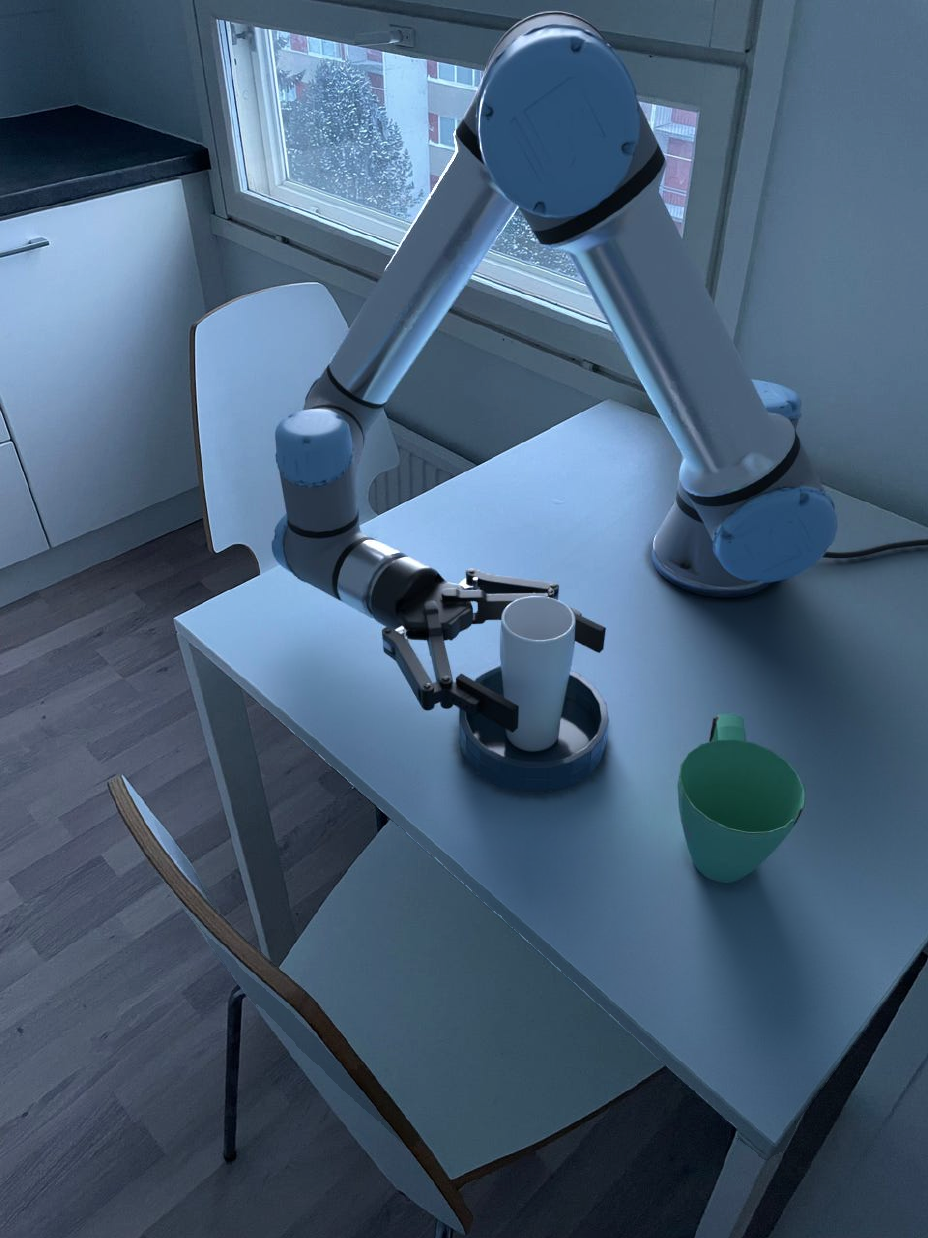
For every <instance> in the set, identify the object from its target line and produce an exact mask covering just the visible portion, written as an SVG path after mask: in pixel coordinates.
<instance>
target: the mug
mask: <svg viewBox="0 0 928 1238" xmlns="http://www.w3.org/2000/svg"><path fill="white" fill-rule="evenodd" d="M744 719H745V718H744V717H743V716H742V715H740V714H737V713H732V712H731V713H730V712H729V713H728V712H727V713H719V714H718V715H716V716H715V717H714V718H713V719H712V724H711V730H710V734H709V740H708V741H707V742H703V743H701V744H699V745H697V746H696V747H695V748H693V749H692V750H690V751H689V752H687V754H686V755H685V757H684V759H683V760H682V762H681V763H680V766H679V771H678V772H679V773H678V779H677V798H678V810H679V816H680V823H681V827H682V830H683V831H682V832H683V834H684V838H685V842H686V846H687V850H688V852H689V855H690V857H691V860H692V863H693V865H694V866H695V868H696V869H697V871H698V872H699V873H700V874H702V876H704V877H705V878H707V879H709V880H711V881H713V882H716V883H720V884H732V883H735V882H738V881H741V880H742V879H744V878H745V877H746V876H748V875H749V874H750V873H752V872H754V871H755V869H757V868H758V867H759V866H760V865H761V864H762V863H763V862H765V860H767V858H769V857H770V856H771V855H772V854H773V853H774V852H775V851H776V850H777V849H778V847H780V845H781V844H782V843H783V841H784V840H785V839H786V838H787V837H788V835H789V834H790V832H791V831H792V830H793V829H794V828H795V825H796V824H797V823H798V821H799V820H800V816H801V815H802V814H803V811H804V808H805V805H806V789H805V786H804V784H803V782H802V780H801V777H800V775H799V773H798V771H796V770H795V768H794V767H793V766H792V765H791V763H789V762H788V760H786V759H785V758H783V757H782V756H780V755H779V754H778V753H777V752H775V751H773V750H772V749H770V748H767V747H765V746H763V745H761V744H758V743H755V742H751V741H747V734H746V725H745V720H744Z"/></svg>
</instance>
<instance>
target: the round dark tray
mask: <svg viewBox="0 0 928 1238" xmlns="http://www.w3.org/2000/svg"><path fill="white" fill-rule="evenodd" d="M474 681H475V682H477V683H479V684H481V685H482V686H484V687H486V688H488V689H490V690H491V691H493V692H495V693H497V694H498V695H500V696H502V697H504V693H503V682H502V672H501V665H498V666H497V667H494V668H492V669H490V670H488V671H486V672H484V673H482V674H480V675H479V676H478V677H477V678H476V679H475V680H474ZM609 721H610V719H609V712H608V707H607V702H606V701H605V699H604V697H603V696H602V694H601V693H600V691H599V689H598V688H597V687H596V686H595V685H594V684H592V683H591V682H590V681H589V680H587V679H586V678H585V677H584V676H583V675H581V674H579V673H577V672H575V671H572V670H571V671H570V676H569V680H568V685H567V690H566V695H565V700H564V705H563V710H562V715H561V720H560V731H559V736H558V738H557V740H556V742H555V743H554V744H553V745H552V746H551V747H549V748H547V749H545V750H542V751H537V752H530V751H525V750H522V749H519V748H517V747H516V746H514V745H513V744H512V743H511V742H510V741H509V739H508V738H507V735H506V731H505V728H504V727H502V726H500V725H499V724H497V723H495V722H494V721H492V720H490V719H488V718H487V717H485V716H483V715H482V714H480V713H479V714H478V715H476V716H475V715H470V714H468V713H467V712H466V711H463V710H462V709H460V708H458V731H459V732H458V733H459V736H458V737H459V739H458V740H459V745H460V748H461V751H462V754H463V756H464V758H465V760H466V761H467V763H468V764H469V765H470V767H471V768H472V769H473V770H474V771H475V772H476V773H477V774H478V775H480V776H481V777H482V778H483V779H485V780H486V781H488V782H490V783H492V784H494V785H496V786H498V787H501V788H503V789H507V790H510V791H513V792H519V793H525V794H528V793H529V794H546V793H553V792H557V791H561V790H565V789H567V788H570V787H572V786H573V787H574V786H575V785H576V784H578V783H580V782H582V781H583V780H585V779H586V778H587V777H589V776H590V775H591V774H592V773H593V772H594V770H595V769H596V768H597V767H598V766H599V764H600V762H601V760H602V758H603V755H604V751H605V747H606V745H607V737H608V729H609Z"/></svg>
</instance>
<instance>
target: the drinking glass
mask: <svg viewBox="0 0 928 1238" xmlns="http://www.w3.org/2000/svg"><path fill="white" fill-rule="evenodd" d="M569 607H570V606H569ZM569 607H568V605H567V604H566V603H564V602H562V601H561V600H559V599H558V600H556V599H553V598H549V597H544V596H529V597H524V598H520V599H518V600H515V601H513V602H512V603H510V604H509V605H508V606H507V607H506V608H505V609H504V611H503V613H502V617H501V620H500V629H499V659H500V666H501V672H502V682H503V693H504V698H505V699H507V700H509V701H511V702H513V703H514V704H516V705H518V706H519V715H518V728H517V729H516V730H515V731H514V732H513V733H512V732H511V731H509V730H507V729H505V731H506V735H507V738H508V739H509V741H510V742H511V743H512V744H513V745H514V746H516V747H517V748H519V749H522V750H525V751H530V752H537V751H542V750H545V749H547V748H549V747H551V746H552V745H553V744H554V743H555V742H556V740H557V738H558V736H559V731H560V720H561V715H562V710H563V705H564V700H565V695H566V690H567V685H568V680H569V676H570V671H572V665H573V660H574V655H575V645H576V641H575V622H576V620H575V616H574V613H573V612H572V610H571V609H570V608H571V607H570V608H569Z"/></svg>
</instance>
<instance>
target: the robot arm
mask: <svg viewBox="0 0 928 1238" xmlns="http://www.w3.org/2000/svg"><path fill="white" fill-rule="evenodd" d="M637 95H638V93H637V89H636V85H635V82H634V80H633V78H632V76H631V74H630V71H629V70H628V68H627V66H626V64H625V62H624V60H623V59H622V57H621V56H620V54H619V53H617V51H616V50H615V49H614V48H613V47H612V46H611V45H610V44H609V42H608V41H607V39H606V38H605V37H604V35H603V34H602V33H601V31H599V30H598V29H597V28H596V27H595V26H594V25H593V24H592V23H591V22H590V21H589V20H586V19H585V18H582V17H581V16H580V15H577V14H574V13H570V12H566V11H561V10H547V11H541V12H538V13H534V14H532V15H529V16H527V17H525V18H523V19H521V20H520V21H518V22H516V23H515V24H514V25H513V26H511V28H510V29H508V30H507V31H505V33H504V34H503V35H502V36H501V38H500V39H499V40H498V42H497V43H496V45H495V46H494V48H493V49H492V51H491V53H490V55H489V58H488V60H487V63H486V66H485V68H484V72H483V74H482V77H481V80H480V82H479V85H478V86H477V89H476V91H475V93H474V95H473V98H472V100H471V103H470V104H469V106H468V107H467V110H466V111H465V113H464V115H463V118H462V119H461V121H460V122H459V124H458V125H457V127H456V129H455V131H454V133H453V138H454V144H455V152H454V154H453V156H452V158H451V160H450V161H449V162H448V164H447V166H446V168H445V169H444V171H443V172H442V174H441V176H440V177H439V179H438V180H437V183H436V184H435V186H434V187H433V189H432V191H431V192H430V194H429V195H428V197H427V199H426V201H425V202H424V204H423V206H422V207H421V209H420V210H419V212H418V214H417V216H416V217H415V219H414V220H413V223H412V224H411V226H410V227H409V229H408V230H407V231H406V234H405V235H404V237H403V239H402V241H401V242H400V244H399V246H398V247H397V249H396V250H395V252H394V254H393V256H392V257H391V259H390V260H389V262H388V264H387V265H386V267H385V268H384V270H383V272H382V273H381V275H380V277H379V278H378V280H377V282H376V283H375V285H374V287H373V289H372V290H371V292H370V294H369V295H368V296H367V299H366V300H365V302H364V303H363V305H362V307H361V308H360V310H359V312H358V313H357V315H356V317H355V318H354V320H353V322H352V324H351V325H350V326H349V328H348V330H347V332H346V334H345V335H344V337H343V338H342V340H341V342H340V343H339V345H338V346H337V348H336V350H335V352H334V353H333V354H332V356H331V358H330V359H329V363H328V365H327V366H326V367H325V368H324V369H323V372H322V373H321V374H320V375H318V376H317V378H316V379H315V380H314V381H313V383H312V384H311V386H310V388H309V390H308V392H307V394H306V396H305V398H304V405H303V408H302V410H299V411H296V412H293V413H290V415H288V418H284V419H281V421H280V422H279V423H278V424H277V426H276V427H275V432H274V439H275V451H276V452H275V463H276V464H277V465H276V466H277V469H278V472H279V476H280V483H281V490H282V495H283V496H282V497H283V500H284V501H283V502H284V506H285V514H283V515H282V517H281V518H280V519H279V520H278V522H277V524H276V525H275V528H274V530H273V532H274V535H273V539H272V540H271V551H272V554H273V557H274V559H275V561H276V562H277V564H278V565H279V566H280V567H282V568H283V569H285V570H286V571H288V572H289V573H291V574H292V575H293V576H294V577H296V579H297V580H299V581H300V582H304V583H307V584H308V585H311V586H313V587H314V588H316V589H318V590H319V591H322V592H323V593H325V594H327V595H329V596H331V597H333V598H334V599H336V600H338V601H339V602H342V603H344V604H345V605H347V606H348V607H351V608H352V609H354V610H356V611H358V612H359V613H361V614H363V615H365V616H366V617H368V618H370V619H373V620H374V621H376V622H377V623H378V624H380V625H382V626H384V628H382V629H381V639H382V640H381V641H382V649H383V653H384V654H385V655H387V656H388V657H390V659H392V660H394V661H395V662H396V665H397V666H398V667H399V669H400V671H401V673H402V675H403V676H404V678H405V680H406V682H407V684H408V685H409V687H410V689H411V691H412V692H413V695H414V696H415V698H416V700H417V702H418V703H419V705H420V707H421V708H422V710H424V711H432V710H433V709H435V706H436V705H437V704H440V705H439V706H440V707H441V708H442V709H444V710H449V709H451V708H452V707H453V706H455V707H456V708H458V709H459V708H460V709H462V710H463V711H466V712H467V713H468V714H470V715H475V716H476V715H478V714H479V713H480V714H482V715H483V716H485V717H487V718H488V719H490V720H492V721H494V722H495V723H497V724H499V725H500V726H502V727H504V728H505V729H507V730H509V731H511V732H512V733H513V732H514V731H515V730H516V729H517V728H518V715H519V706H518V705H516V704H514V703H513V702H511V701H509V700H507V699H505V698H504V697H502V696H500V695H498V694H497V693H495V692H493V691H491V690H490V689H488V688H486V687H484V686H482V685H481V684H479V683H477V682H475V680H474V679H472V678H470V677H468V676H466V675H465V674H463V673H460V674H458V675H457V676H456V677H455V681H454V679H453V673H452V670H451V665H450V661H449V656H448V653H447V648H446V644H445V641H451V642H452V641H453V640H455V639H456V638H457V637H458V636H459V634H460V633H461V632H463V631H465V630H467V629H469V628H470V627H471V626H472V625H483V624H484V623H486V621H501V617H502V613H503V611H504V609H505V608H506V607H507V606H508V605H509V604H510V603H512V602H513V601H515V600H518V599H520V598H524V597H529V596H544V597H549V598H553V599H556V600H559V596H560V595H559V594H560V585H559V583H556V582H551V581H546V580H545V581H544V580H537V579H530V578H524V577H523V578H521V577H513V576H507V575H499V574H493V573H487V572H485V571H482V570H479V569H476V568H473V567H471V568H466V570H465V578H464V579H463V580H462V581H461V582H460V583H456V582H449V581H447V580H445V578H444V577H443V576H442V575H441V574H440V573H439V571H437V570H436V569H435V568H433V567H431V566H430V565H427V564H426V563H423V562H421V561H419V560H417V559H415V558H414V557H411V556H409V555H407V554H406V553H403V552H401V551H400V550H397V549H396V548H393V547H392V546H389V545H388V544H385V543H383V542H381V541H379V540H377V539H375V538H373V537H371V536H369V535H368V534H365V533H363V532H362V531H361V526H360V510H359V506H358V505H359V504H358V492H357V491H358V489H357V472H358V469H359V466H360V465H359V464H360V462H361V457H362V453H363V449H364V446H365V443H366V439H367V435H368V433H369V431H370V429H371V427H372V426H373V425H374V423H375V421H376V420H377V419H378V417H379V416H380V415H381V413H382V411H383V409H384V408H385V407H386V404H387V403H388V401H389V399H390V397H391V396H392V395H393V393H394V392H395V390H396V389H397V387H398V386H399V384H400V383H401V382H402V380H403V379H404V377H405V375H406V374H407V373H408V371H409V370H410V368H411V367H412V365H413V364H414V362H415V361H416V359H417V358H418V356H419V355H420V354H421V353H422V350H423V349H424V347H425V346H426V344H427V343H428V342H429V340H430V339H431V337H432V336H433V334H434V333H435V331H436V330H437V328H438V327H439V325H440V323H441V322H442V321H443V319H444V318H445V316H446V315H447V313H448V312H449V310H450V309H451V307H452V306H453V305H454V303H455V302H456V300H457V299H458V297H459V296H460V294H461V292H462V291H463V290H464V288H465V287H466V285H467V284H468V283H469V282H470V280H471V278H472V277H473V275H474V273H475V272H476V270H477V269H478V267H479V266H480V265H481V263H482V262H483V260H484V258H485V257H486V256H487V255H488V253H489V251H490V250H491V249H492V247H493V246H494V245H495V242H496V241H497V239H498V238H499V237H500V235H501V234H502V232H503V231H504V229H505V227H506V226H507V224H508V223H509V222H510V220H511V219H512V217H513V216H514V215H515V213H516V211H517V210H518V209H519V210H520V212H521V214H522V215H523V218H524V220H525V221H526V223H527V224H528V226H529V227H530V229H531V231H532V232H533V234H534V236H535V238H536V239H537V241H538V243H539V244H540V246H541V247H542V248H544V249H550V250H553V251H559V252H563V253H565V254H567V255H568V257H569V259H570V261H571V262H572V264H573V266H574V267H575V270H576V271H577V273H578V275H579V276H580V278H581V280H582V281H583V283H584V285H585V287H586V289H587V290H588V293H590V296H591V298H592V299H593V301H594V302H595V304H596V306H597V307H598V309H599V311H600V313H601V314H602V316H603V318H604V320H605V322H606V323H607V325H608V327H609V328H610V330H611V332H612V334H613V335H614V337H615V339H616V341H617V343H618V345H619V347H620V348H621V349H622V351H623V353H624V355H625V357H626V358H627V359H628V362H629V363H630V365H631V367H632V369H633V371H634V372H635V374H636V376H637V378H638V379H639V381H640V382H641V384H642V387H643V388H644V390H645V392H646V393H647V395H648V397H649V399H650V400H651V402H652V404H653V405H654V407H655V409H656V410H657V413H658V415H659V416H660V418H661V420H662V422H663V423H664V425H665V426H666V428H667V430H668V432H669V434H670V435H671V437H672V439H673V440H674V442H675V444H676V446H677V447H678V449H679V451H680V453H681V455H682V456H681V463H680V467H679V471H678V472H679V473H678V480H677V489H676V494H675V500H674V501H673V502H672V504H671V506H670V507H669V511H668V512H667V514H666V517H664V520H663V521H662V524H661V525H660V526H659V529H658V530H657V532H656V534H655V537H654V539H653V542H652V543H653V544H652V548H651V549H652V550H651V559H652V563H653V565H654V567H655V569H656V570H657V572H658V573H659V574H660V575H661V576H662V577H663V578H664V579H666V580H667V581H668V582H670V583H672V584H673V585H675V586H677V587H678V588H681V589H683V590H685V591H688V592H690V593H693V594H698V595H701V596H706V597H714V598H739V597H745V596H750V595H753V594H756V593H759V592H761V591H763V590H764V589H766V588H767V587H768V586H769V585H771V584H772V583H773V582H774V583H775V582H779V581H784V580H787V579H790V578H793V577H795V576H797V575H800V574H802V573H804V572H805V571H807V570H809V569H810V568H812V567H813V566H814V565H815V564H817V563H818V562H819V561H820V560H821V559H822V558H825V559H854V558H860V557H865V556H869V555H874V554H877V553H881V552H887V551H890V550H896V549H903V548H911V547H920V546H928V538H922V539H921V538H919V539H911V540H903V541H896V542H891V543H890V542H889V543H884V544H880V545H877V546H873V547H869V548H864V549H859V550H853V551H827V550H828V549H829V548H830V546H831V545H833V543H834V541H835V539H836V536H837V532H838V517H837V514H836V506H835V503H834V500H833V498H832V497H831V496H830V495H829V493H827V492H826V491H825V488H824V486H823V484H822V482H821V480H820V478H819V476H818V474H817V472H816V470H815V468H814V466H813V464H812V462H811V460H810V458H809V456H808V454H807V452H806V450H805V446H803V443H802V441H801V439H800V437H799V435H798V433H797V426H798V424H799V420H800V419H801V418H802V413H801V410H802V399H801V397H800V396H799V394H798V393H796V392H795V391H794V390H793V389H791V388H790V387H789V388H788V387H786V386H785V385H781V384H778V383H774V382H770V381H766V380H765V381H764V380H759V379H752V377H751V376H750V374H749V371H748V370H747V368H746V365H745V364H744V362H743V359H742V358H741V356H740V354H739V352H738V350H737V348H736V345H735V343H734V342H733V341H734V340H733V339H732V337H731V335H730V333H729V331H728V329H727V327H726V325H725V323H724V321H723V319H722V317H721V315H720V313H719V311H718V309H717V307H716V305H715V303H714V301H713V299H712V296H711V294H710V293H709V290H708V288H707V287H706V285H705V282H704V281H703V279H702V276H701V275H700V273H699V270H698V268H697V266H696V264H695V262H694V260H693V258H692V256H691V254H690V252H689V250H688V248H687V246H686V244H685V242H684V240H683V237H682V236H681V233H680V232H679V230H678V227H677V226H676V223H675V221H674V220H673V217H672V216H671V213H670V210H668V209H669V208H667V205H666V204H665V201H664V199H663V197H662V195H661V193H660V187H661V184H662V180H663V177H664V175H665V171H666V167H667V164H668V162H667V159H666V157H665V155H664V153H663V151H662V149H661V146H660V144H659V142H658V139H657V138H656V135H655V134H654V131H653V130H652V129H653V128H652V127H651V125H650V123H649V121H648V119H647V116H646V114H645V112H644V110H643V108H642V106H641V104H640V102H639V100H638V97H637ZM472 602H474V603H477V610H476V611H475V612H474V607H473V604H472ZM567 606H568V605H567ZM568 607H569V608H570V609H571V610H572V612H573V613H574V616H575V620H576V622H575V643H578V644H579V645H581V646H584V647H585V648H588V649H590V650H592V651H594V652H596V653H598V654H600V653H601V652H602V651H603V650H604V647H605V639H606V631H607V627H606V626H604V625H601V624H599V623H597V622H595V621H593V620H590V619H589V618H587V617H585V616H582V613H581V612H580V611H579V610H577V609H575V608H573V607H570V606H568ZM409 640H410V641H426V642H427V647H428V651H429V656H430V659H431V663H432V667H433V668H432V669H433V673H434V677H435V682H433V681H432V680H431V677H430V676H429V675H428V672H427V671H426V669H425V668H424V666H423V664H422V663H421V661H420V659H419V658H418V655H417V654H416V652H415V650H414V649H413V647H412V645H411V644H410V642H409Z"/></svg>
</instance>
